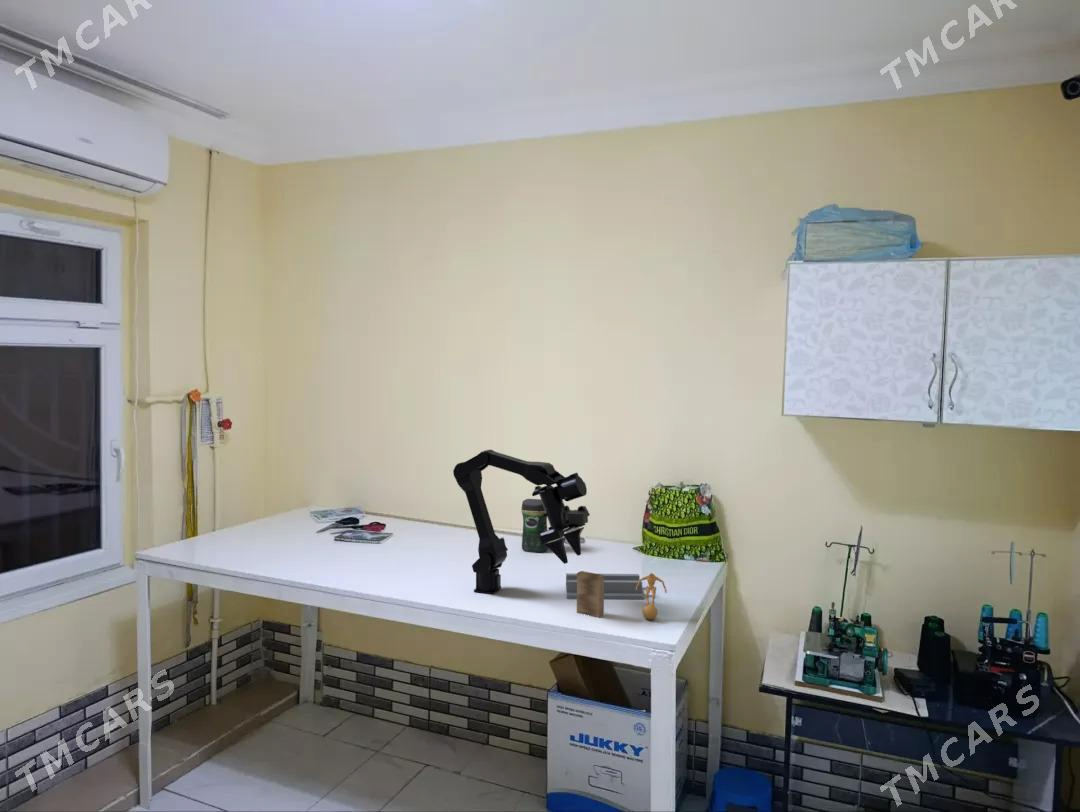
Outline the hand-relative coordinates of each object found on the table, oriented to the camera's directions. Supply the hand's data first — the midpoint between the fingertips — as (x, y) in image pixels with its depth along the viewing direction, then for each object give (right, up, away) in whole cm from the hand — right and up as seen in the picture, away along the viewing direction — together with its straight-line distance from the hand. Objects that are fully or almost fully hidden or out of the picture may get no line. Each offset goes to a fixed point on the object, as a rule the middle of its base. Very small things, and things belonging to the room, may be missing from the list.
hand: (572, 559), depth 202 cm
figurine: (+20, -14, -10) cm, 26 cm away
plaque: (+4, -13, -7) cm, 16 cm away
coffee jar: (-11, -9, +59) cm, 61 cm away
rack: (+10, -12, +12) cm, 20 cm away
